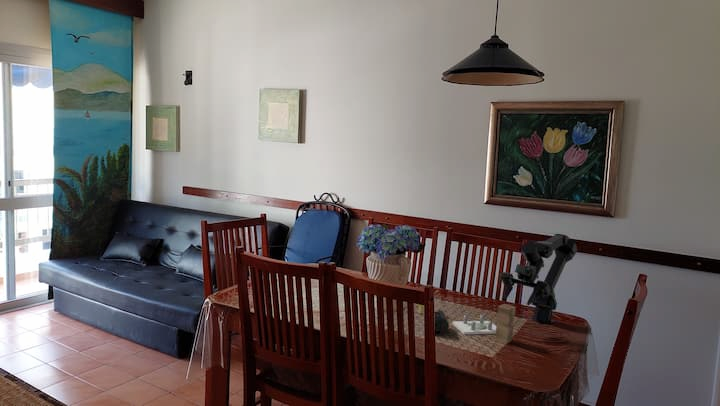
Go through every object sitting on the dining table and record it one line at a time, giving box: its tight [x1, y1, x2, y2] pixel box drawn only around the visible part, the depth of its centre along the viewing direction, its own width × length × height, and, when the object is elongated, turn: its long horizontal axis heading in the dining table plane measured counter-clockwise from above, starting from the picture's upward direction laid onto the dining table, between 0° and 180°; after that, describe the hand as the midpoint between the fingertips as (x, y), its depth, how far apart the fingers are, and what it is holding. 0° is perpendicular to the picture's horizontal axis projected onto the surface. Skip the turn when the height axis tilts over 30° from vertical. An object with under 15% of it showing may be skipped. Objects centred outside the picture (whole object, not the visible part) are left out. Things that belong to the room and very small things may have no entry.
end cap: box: [433, 309, 450, 336], centre depth 192 cm, size 10×7×7 cm
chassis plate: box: [452, 314, 496, 335], centre depth 197 cm, size 16×11×4 cm
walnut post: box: [494, 303, 516, 345], centre depth 186 cm, size 4×4×13 cm
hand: (516, 301), depth 190 cm, fingers open, 9 cm apart
